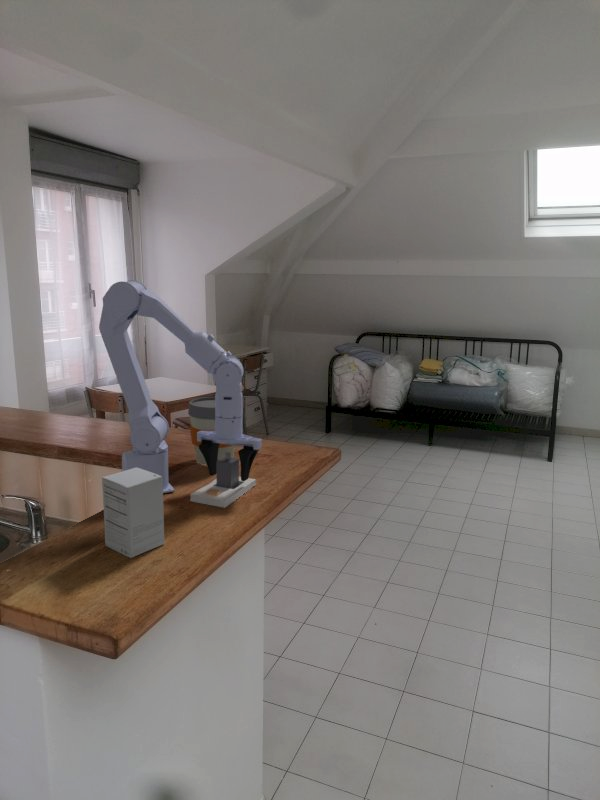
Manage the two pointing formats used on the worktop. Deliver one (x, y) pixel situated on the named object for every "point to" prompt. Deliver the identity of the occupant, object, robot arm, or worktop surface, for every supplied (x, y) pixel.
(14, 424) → the worktop surface
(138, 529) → the supplement box
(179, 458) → the worktop surface
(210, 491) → the white board with cutouts
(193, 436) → the reusable coffee cup
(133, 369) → the robot arm
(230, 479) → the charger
